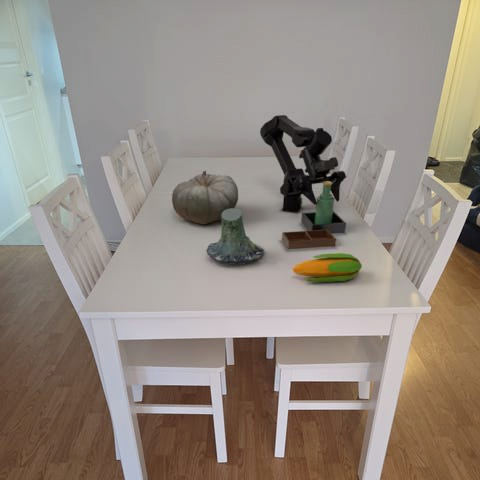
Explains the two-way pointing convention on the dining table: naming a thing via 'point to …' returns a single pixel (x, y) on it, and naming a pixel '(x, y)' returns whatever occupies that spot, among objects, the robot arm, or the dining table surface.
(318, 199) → the green corked bottle
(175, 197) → the gourd
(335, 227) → the tray
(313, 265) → the corn
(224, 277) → the dining table surface
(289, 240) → the wooden box
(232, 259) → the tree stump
